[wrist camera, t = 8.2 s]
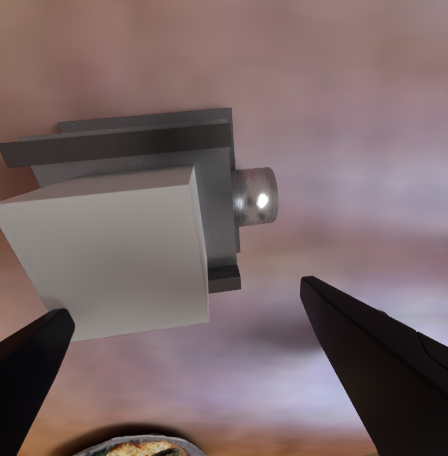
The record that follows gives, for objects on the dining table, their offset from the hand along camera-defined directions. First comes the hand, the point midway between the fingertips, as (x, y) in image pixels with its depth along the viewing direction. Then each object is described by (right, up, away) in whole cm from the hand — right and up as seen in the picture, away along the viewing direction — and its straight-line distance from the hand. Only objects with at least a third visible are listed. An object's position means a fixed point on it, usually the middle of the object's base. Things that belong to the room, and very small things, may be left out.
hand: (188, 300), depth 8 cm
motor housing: (-4, +6, +10) cm, 12 cm away
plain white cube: (-3, +3, +4) cm, 6 cm away
